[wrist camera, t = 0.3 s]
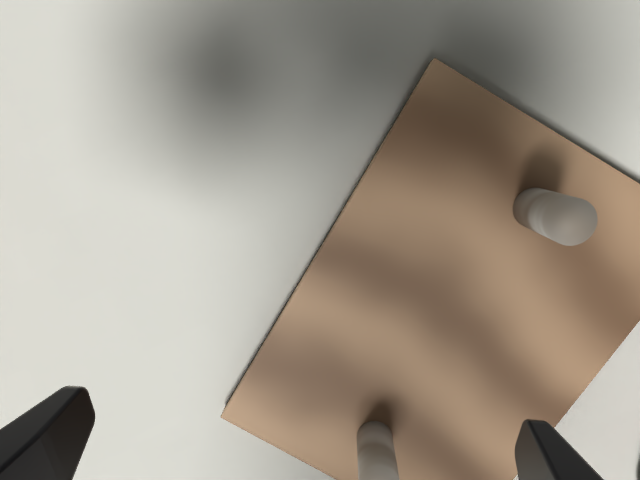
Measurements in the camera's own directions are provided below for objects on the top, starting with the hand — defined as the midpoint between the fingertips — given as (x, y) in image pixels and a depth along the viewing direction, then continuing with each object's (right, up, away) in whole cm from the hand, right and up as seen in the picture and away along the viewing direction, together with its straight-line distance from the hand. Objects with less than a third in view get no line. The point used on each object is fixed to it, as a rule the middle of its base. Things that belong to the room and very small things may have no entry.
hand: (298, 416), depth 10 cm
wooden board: (+7, -1, +16) cm, 18 cm away
